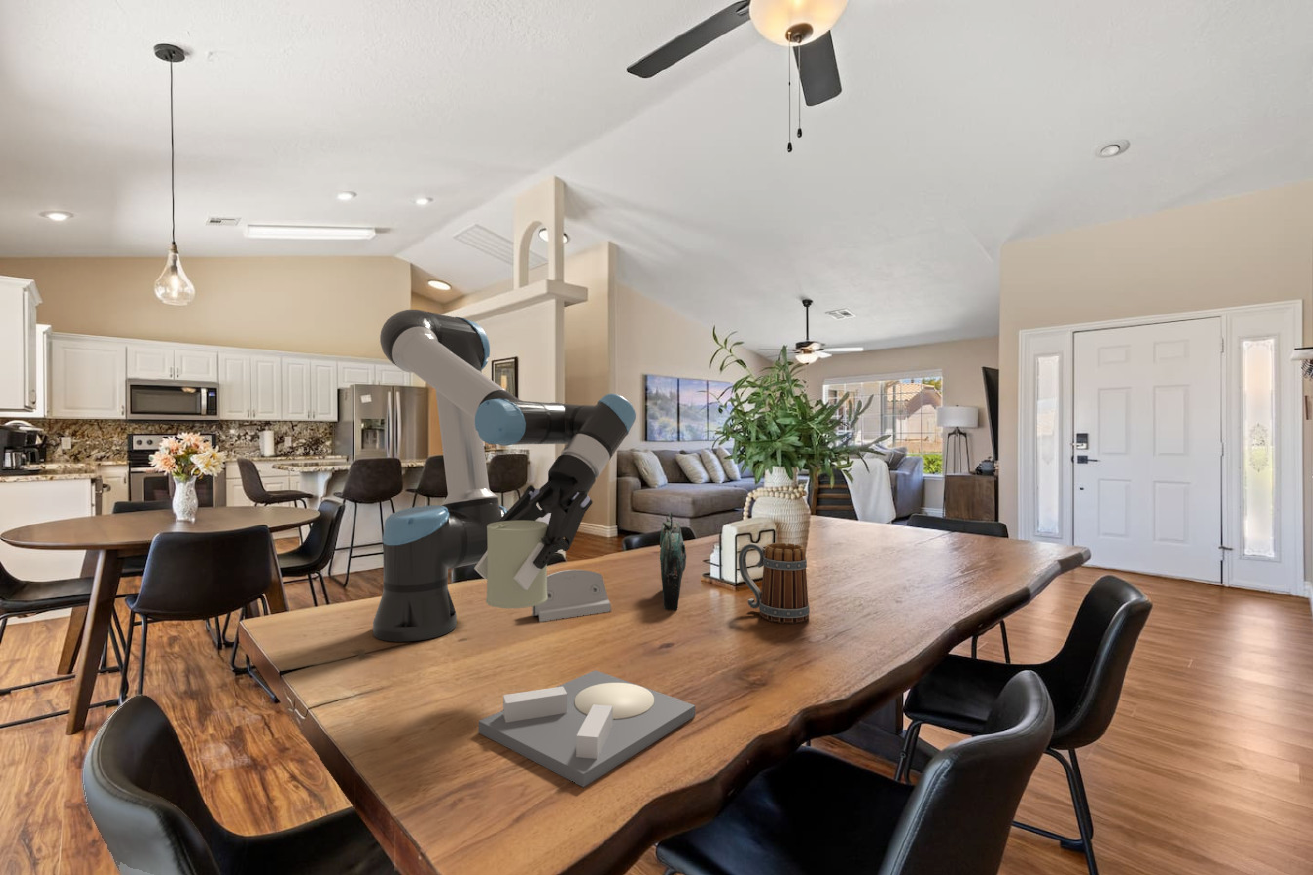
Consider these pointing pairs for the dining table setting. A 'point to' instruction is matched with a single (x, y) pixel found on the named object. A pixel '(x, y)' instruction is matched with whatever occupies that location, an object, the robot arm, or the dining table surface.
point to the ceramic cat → (671, 562)
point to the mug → (779, 582)
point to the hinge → (573, 595)
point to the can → (513, 564)
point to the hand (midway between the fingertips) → (499, 578)
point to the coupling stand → (585, 724)
